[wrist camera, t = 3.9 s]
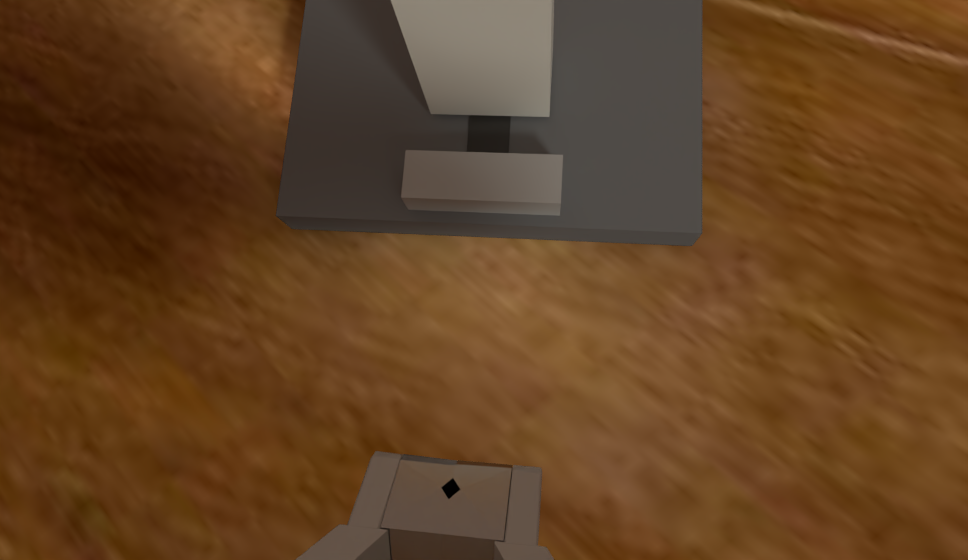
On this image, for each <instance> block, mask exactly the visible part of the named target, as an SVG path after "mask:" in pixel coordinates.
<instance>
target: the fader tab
mask: <svg viewBox="0 0 968 560" xmlns="http://www.w3.org/2000/svg"><path fill="white" fill-rule="evenodd" d="M391 3H392V5H393V8H394V11H395V14H396V17H397V20H398V22H399V25H400V28H401V31H402V34H403V37H404V39H405V42H406V45H407V48H408V51H409V54H410V56H411V59H412V62H413V65H414V68H415V71H416V73H417V76H418V79H419V82H420V85H421V88H422V90H423V93H424V96H425V99H426V102H427V105H428V107H429V110H430V113H431V114H448V115H488V116H528V117H549V115H550V96H551V77H552V58H553V28H554V0H391Z"/></svg>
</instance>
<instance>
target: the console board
mask: <svg viewBox="0 0 968 560" xmlns="http://www.w3.org/2000/svg"><path fill="white" fill-rule="evenodd" d="M276 216H277V217H278V218H279V219H280V220H282V221H283V222H284V223H285V224H287V225H288V226H289V227H290V228H291V229H308V230H332V231H355V232H378V233H402V234H425V235H449V236H472V237H496V238H519V239H542V240H566V241H589V242H613V243H636V244H660V245H683V246H692V245H693V244H694V243H695V241H696V240H697V239H698V238H699V236H700V235H701V234H702V0H554V28H553V58H552V77H551V96H550V115H549V117H528V116H488V115H448V114H431V113H430V110H429V107H428V105H427V102H426V99H425V96H424V93H423V90H422V88H421V85H420V82H419V79H418V76H417V73H416V71H415V68H414V65H413V62H412V59H411V56H410V54H409V51H408V48H407V45H406V42H405V39H404V37H403V34H402V31H401V28H400V25H399V22H398V20H397V17H396V14H395V11H394V8H393V5H392V3H391V0H306V4H305V11H304V18H303V25H302V32H301V39H300V47H299V54H298V61H297V68H296V75H295V82H294V90H293V97H292V104H291V111H290V118H289V125H288V133H287V140H286V147H285V154H284V161H283V168H282V175H281V183H280V190H279V197H278V204H277V211H276Z"/></svg>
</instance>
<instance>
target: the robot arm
mask: <svg viewBox="0 0 968 560" xmlns="http://www.w3.org/2000/svg"><path fill="white" fill-rule="evenodd" d="M541 483H542V469H541V468H539V467H528V466H517V465H508V464H496V463H485V462H473V461H461V460H458V461H455V460H447V459H439V458H431V457H423V456H415V455H406V454H394V453H386V452H378V451H376V452H375V453H374V455H373V456H372V457H371V459H370V462H369V465H368V468H367V471H366V473H365V476H364V479H363V482H362V485H361V488H360V490H359V493H358V496H357V499H356V502H355V505H354V507H353V510H352V513H351V516H350V519H349V522H348V524H347V525H338V526H337V527H335V528H334V529H333V530H332V531H330V532H329V533H328V534H327V535H325V536H324V537H323V538H322V539H320V540H319V541H318V542H317V543H316V544H314V545H313V546H312V547H311V548H309V549H308V550H307V551H306V552H304V553H303V554H302V555H301V556H299V557H298V558H297V559H296V560H554V558H553V557H552V555H551V554H550V552H549V550H548V549H547V547H542V546H538V534H539V517H540V500H541Z"/></svg>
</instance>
